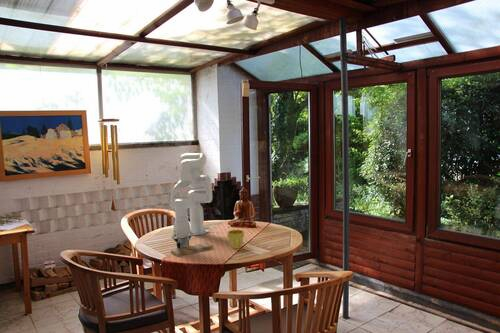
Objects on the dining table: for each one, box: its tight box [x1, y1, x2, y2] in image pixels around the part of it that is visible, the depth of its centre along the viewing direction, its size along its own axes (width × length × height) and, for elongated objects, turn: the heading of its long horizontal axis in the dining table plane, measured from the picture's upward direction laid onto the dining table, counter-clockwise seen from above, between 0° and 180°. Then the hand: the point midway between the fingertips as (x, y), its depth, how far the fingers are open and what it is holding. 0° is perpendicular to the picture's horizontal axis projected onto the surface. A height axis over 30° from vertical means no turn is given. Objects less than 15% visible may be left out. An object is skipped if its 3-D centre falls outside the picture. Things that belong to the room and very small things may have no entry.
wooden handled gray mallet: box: [179, 237, 193, 249], centre depth 250 cm, size 5×13×7 cm, turn 37°
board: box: [170, 242, 214, 257], centre depth 250 cm, size 24×9×2 cm, turn 126°
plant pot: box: [227, 229, 245, 249], centre depth 254 cm, size 10×10×10 cm
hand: (182, 247), depth 254 cm, fingers closed on wooden handled gray mallet, 5 cm apart
